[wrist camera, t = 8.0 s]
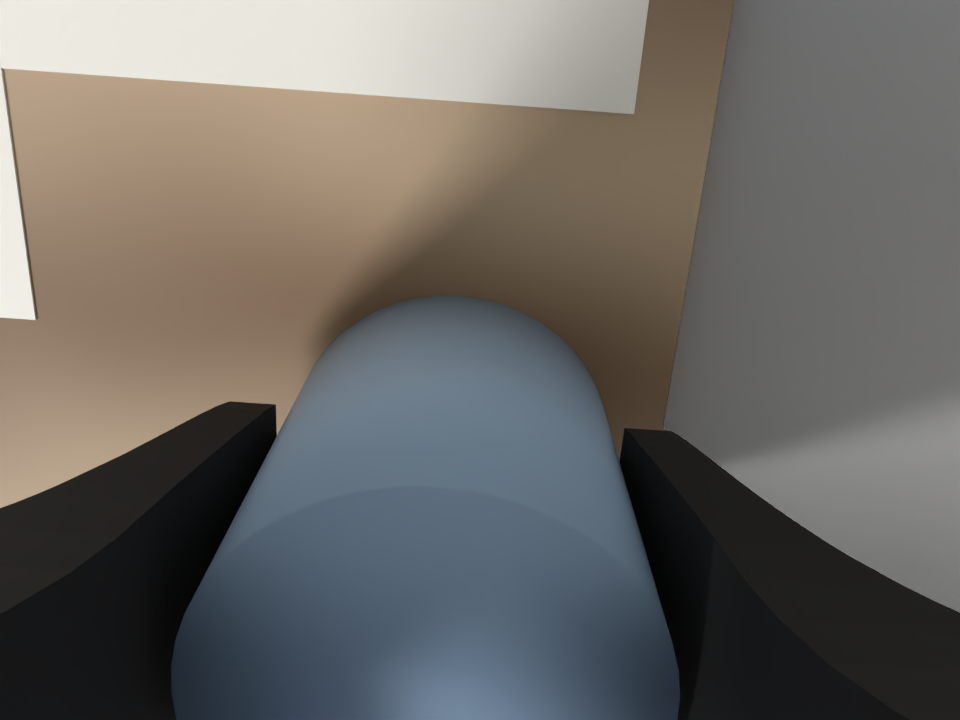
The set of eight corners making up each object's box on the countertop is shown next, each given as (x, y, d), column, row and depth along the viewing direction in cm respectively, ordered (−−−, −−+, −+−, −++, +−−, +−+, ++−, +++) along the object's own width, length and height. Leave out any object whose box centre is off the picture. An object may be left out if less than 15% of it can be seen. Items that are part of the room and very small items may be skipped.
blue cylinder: (588, 583, 13) (642, 895, 8) (296, 564, 13) (186, 868, 8) (626, 307, 11) (721, 506, 7) (292, 284, 11) (152, 468, 7)
